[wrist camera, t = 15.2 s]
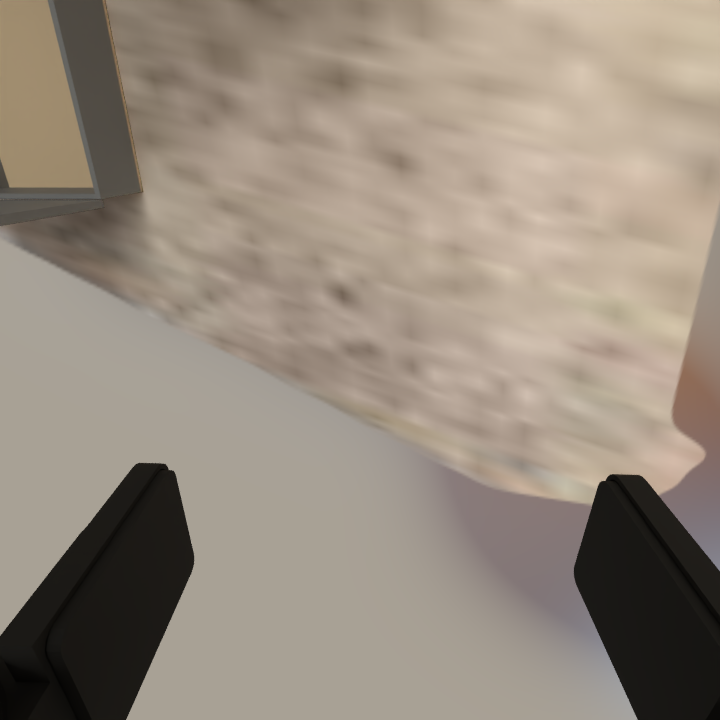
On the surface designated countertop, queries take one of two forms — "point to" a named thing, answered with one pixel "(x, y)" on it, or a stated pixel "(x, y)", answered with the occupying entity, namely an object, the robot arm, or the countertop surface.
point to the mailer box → (62, 104)
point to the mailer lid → (42, 209)
